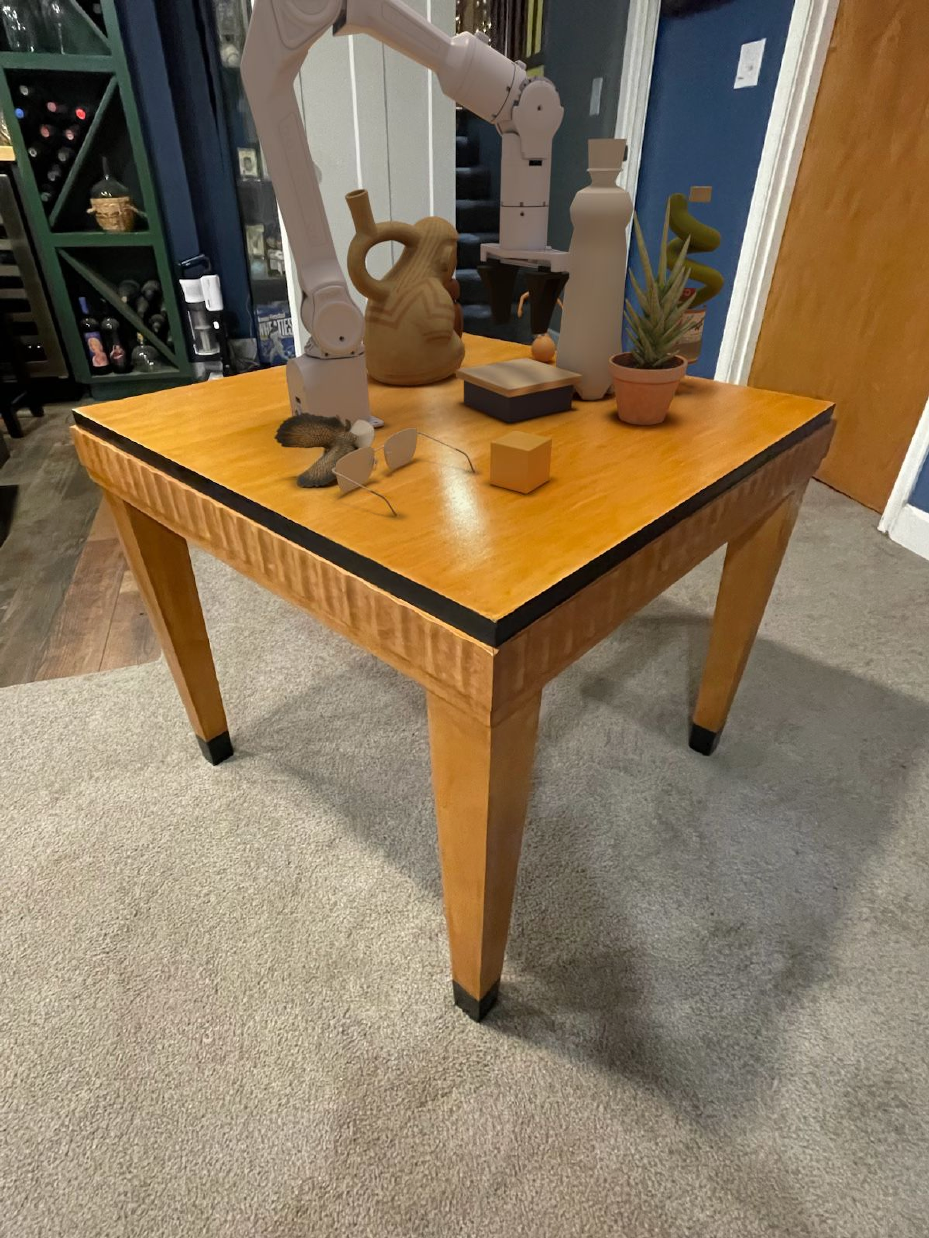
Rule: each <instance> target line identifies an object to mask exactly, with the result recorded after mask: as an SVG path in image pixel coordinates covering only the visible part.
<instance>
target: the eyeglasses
mask: <svg viewBox="0 0 929 1238" xmlns="http://www.w3.org/2000/svg"><path fill="white" fill-rule="evenodd" d="M418 435H422V436H424V437H426V438H429V439H430V440H433V441H435V442H438V443H439V444H442V445H444V446H447V447H449V448H451V449H453V450H455V451H457V452H458V453H461V454H463V455H464V456H465V458H466V459H467V461H468V463H469V466H470V470H471V471H472V473H473V474H475V473H476V471H475V469H474V467H473V464H472V462H471V459H470V458H469V456H468V454H467V453H466V452H464V451H462V450H460V449H459V448H456V447H453V446H452V445H450V444H447V443H445V442H443V441H441V440H439V439H437V438H435V437H433V436H430V435H429V434H426V433H424V432H421V431H418V429H417V428H416V427H410V428H406V429H402V430H400V431H398V432H395V433H394V434H391V435H390V436H388V438H387V439H386V440H385V441H384V444H383V445H382V446H380V447H378V448H376V449H374V448H373V447H372V446H370V447H363V448H359V449H358V450H355V451H353V452H351V453H349V454H347V455H345V456H344V457H342V458H341V459H339V461H338V462H337V463H336V468H333V469H332V473H334V474H335V475H336V477H337V478H336V481H337V485H338V488H339V490H340V491H341V492H343V493H347V492H350V491H352V490H354V489H357V488H359V487H360V488H362V489H363V490H366V491H368V492H370V493H371V494H374V495H376V496H378V497H380V498H382V499H383V500H384V501H385V502H386V503H387V505H388V507H389V509H390V510H391V512H392V513H393V515H394V516H395V517H397V516H398V514H397V513H396V512H395V511H394V508H393V507H392V505H391V504H390V502H389V501H388V500H387V499H386V498H385V496H384V495H382V494H380V493H377V492H375V491H373V490H371V489H369V488H367V487H366V486H364V485H363V484H365V483H366V482H367V481H368V480H369V479H370V478H371V475H372V472H373V470H374V471H376V469H377V467H378V461H379V457H378V456H377V457H376V454H375V453H376V452H377V451H379V450H382V449H383V456H384V457H383V458H384V461H385V464H386V466H387V468H388V469H389V470H394V469H399V468H400V467H402V466H404V465H406V464H408V463H409V462H411V461H412V459H414V457H415V454H416V448H417V442H418ZM374 465H375V466H374ZM373 468H374V469H373ZM335 471H336V472H335Z"/></svg>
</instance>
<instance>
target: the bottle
mask: <svg viewBox="0 0 929 1238" xmlns="http://www.w3.org/2000/svg"><path fill="white" fill-rule="evenodd" d="M627 140H628V139H627V138H591V139H588V141H587V144H588V145H587V146H588V149H587V150H588V168H587V169H586V170H585V171H586V172H588V174H589V175H590V178H591V181H592V182H591V184H590V185H588V186H586V187H584V188H582V189H581V190H578V191H577V192H576V193H575V196H574V198H573V200H572V202H571V205H570V207H569V214H570V215H569V216H570V221H571V224H572V226H573V233H572V235H571V236H572V237H571V240H570V244H569V248H568V252H569V253H570V255H569V269H568V271H566V272H569V273H570V276H569V280H568V281H567V283H566V284H565V286H564V291H563V302H562V305H563V310H562V309H561V310H562V312H561V319H560V328H559V329H560V330H559V336H558V341H557V345H556V347H555V348H556V349H555V367H557V368H561V369H564V370H567V371H570V372H573V373H577V374H580V375H582V382H581V383H578V384H573V394H572V396H573V395H574V394H576V393H578V395H579V397H580V398H581V399H582V400H588V401H594V400H600V399H602V398H604V396H605V395H606V394H608V395H611V394H612V393H613V392H614V391H615V390H614V383H613V377H612V375H611V374H610V373H609V359H610V358H611V357H612V356H614V355H618V354H621V353H623V345H622V344H623V343H622V334H623V333H622V331H623V316H624V312H623V311H624V302H625V289H626V274H627V273H626V272H627V257H628V244H627V230H626V229H627V227H628V225H629V224H630V222H631V220H632V216H633V214H634V211H635V208H634V204H633V201H632V197H631V194H630V191H628V190H627V189H624V188H623V187H621V186H620V185H617V182H616V180H617V179H618V177H619V175H620V173H621V172H623V171H624V169H623V162H624V157H625V151H626V147H627V142H628V141H627Z"/></svg>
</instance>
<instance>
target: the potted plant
mask: <svg viewBox="0 0 929 1238" xmlns="http://www.w3.org/2000/svg"><path fill="white" fill-rule="evenodd" d="M670 196H671V195H669V196H668V198H669V200H668V205H667V210H666V209H665V218H664V223H663V229H662V238H661V243H660V253H659V261H658V269H657V276H656V278H655V274H654V271H653V268H652V264H651V262H650V258H649V254H648V251H647V247H646V244H645V240H644V237H643V233H642V229H641V226H640V223H639V220H638V215H637V212H636V210H633V221H634V222H633V223H634V231H635V236H636V242H637V247H638V253H639V257H640V261H641V262H640V263H641V266H642V270H643V274H644V278H645V286H646V290H644V289H642V287H641V286H640V284H639V282H638V281H637V279H636V277H635V275H634V273H633V270H632V268H631V267H629V268H628V271H629V276H630V277H629V278H630V281H631V284H632V287H633V290H634V292H635V295H636V298H637V300H638V304H639V305H640V308H641V310H642V314H643V316H642V315H640V314H639V313H638V312H636V311H635V309H634V308H633V306H632V304H631V303H630V301H629V300H628V298H625V304H626V306H625V307H626V309H627V310H623V316H624V317H625V319H626V322H627V323H628V325H629V328H631V330H632V331H633V333H634V334H635V335H636V336H637V338H636V337H635V335H634V334H633V333H632V332H631V330H630V329H629V328H628V327H625V331H626V334H627V336H628V337H629V340H630V341H631V343H632V344H633V345H634V347H631V346H630V345H629V351H626V352H622V353H621V354H618V355H614V356H612V357H611V358H610V359H609V373H610V374H611V375H612V377H613V383H614V390H613V391H614V395H615V402H616V407H617V414H618V418H619V420H621V421H623V422H624V423H627V424H632V425H638V426H651V425H656V424H661V423H662V422H664V420H665V418H666V416H667V414H668V411H669V409H670V406H671V403H672V401H673V400H674V396H675V395H676V391H677V389H678V387H679V385H680V382H681V380H683V378H684V377H685V376H687V375H686V374H687V368H688V365H687V364H688V363H687V360H686V359H685V358H684V357H682V356H679V355H676V354H677V353H678V352H679V351H680V350H677V351H676V352H674V353H672V354H671V353H668V351H669V350H670V349H671V348H672V347H673V346H674V345H675V344H676V343H677V342H678V341H679V340H680V339H681V338H682V337H683V335H684V334H685V333H686V332H687V331H688V330H689V329H690V328H691V327H692V326H693V325H694V324H695V323H696V321H694V322H693V323H692V324H690V325H689V326H687V327H686V328H684V329H683V330H681V329H682V328H683V327H684V326H685V325H686V324H688V322H689V321H690V320H691V319H692V318H693V317H694V314H693V315H691V316H690V317H689V318H688V319H687V320H686V321H685V322H684V323H683V324H682V325H680V326H679V327H677V326H678V325H679V323H680V322H681V320H682V318H683V317H681V316H682V314H683V313H684V312H685V311H686V309H687V308H688V307H689V305H690V304H691V302H692V301H693V299H694V298H695V296H696V292H695V293H694V294H693V295H692V296H691V297H690V298H689V299H688V300H687V301H686V302H685V303H684V304H683V305H682V306H681V307H680V308H678V309H677V306H676V305H677V302H678V300H679V298H680V296H681V294H682V291H683V289H684V287H686V284H687V282H688V280H689V279H688V277H689V274H690V270H691V269H690V267H689V269H688V271H687V272H686V274H685V276H684V277H683V273H684V268H685V266H684V267H682V265H683V262H684V259H685V257H687V256H686V255H687V254H686V252H687V249H688V245H689V241H690V236H691V234H690V235H689V237H688V239H687V240H686V242H685V244H684V247H683V249H682V251H681V253H680V255H679V257H678V260H677V262H676V264H675V266H674V268H673V270H672V272H671V271H670V274H669V276H668V278H667V268H666V248H667V244H668V237H669V236H668V235H669V228H670V227H669V215H670ZM681 268H682V270H681ZM680 270H681V272H680ZM679 273H680V274H679ZM676 309H677V310H676ZM626 311H627V312H628V313H627V312H626ZM628 314H629V315H630V316H629V315H628ZM680 317H681V318H680ZM679 318H680V319H679ZM678 319H679V320H678ZM676 322H677V323H676ZM675 323H676V324H675ZM674 324H675V325H674ZM676 327H677V328H676ZM680 330H681V331H680ZM679 331H680V332H679ZM678 332H679V333H678Z"/></svg>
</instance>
